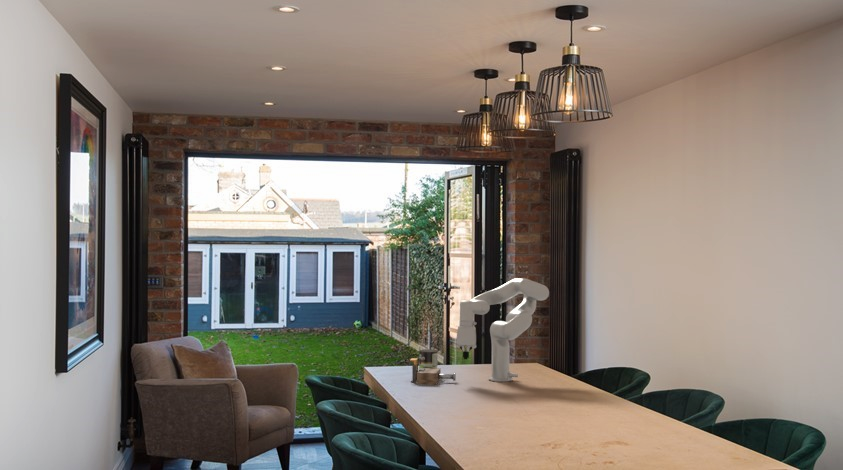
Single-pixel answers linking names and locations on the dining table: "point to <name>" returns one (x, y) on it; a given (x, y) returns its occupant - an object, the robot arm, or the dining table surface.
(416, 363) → the plate
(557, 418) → the dining table surface
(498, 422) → the dining table surface
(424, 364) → the coffee can
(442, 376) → the pin
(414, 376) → the block
